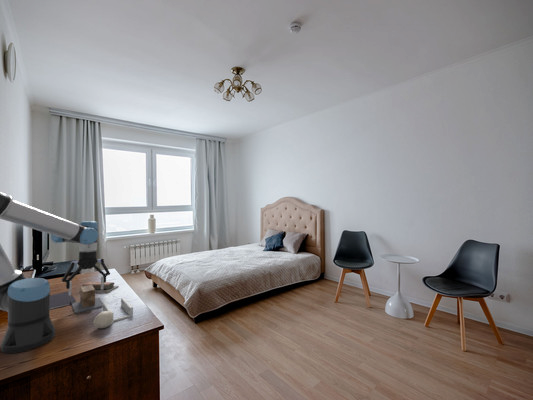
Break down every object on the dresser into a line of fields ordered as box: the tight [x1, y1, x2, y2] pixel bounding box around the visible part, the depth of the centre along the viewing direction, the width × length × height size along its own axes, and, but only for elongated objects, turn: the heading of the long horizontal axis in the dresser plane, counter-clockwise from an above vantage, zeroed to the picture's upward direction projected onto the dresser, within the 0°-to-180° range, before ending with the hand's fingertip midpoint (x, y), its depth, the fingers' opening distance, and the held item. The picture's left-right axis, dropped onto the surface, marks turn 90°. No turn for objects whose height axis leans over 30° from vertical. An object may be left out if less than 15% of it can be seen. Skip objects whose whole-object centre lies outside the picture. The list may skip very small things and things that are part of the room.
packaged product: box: [81, 281, 119, 294], centre depth 151 cm, size 18×5×10 cm
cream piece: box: [92, 310, 114, 329], centre depth 107 cm, size 7×7×7 cm
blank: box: [79, 285, 96, 308], centre depth 130 cm, size 5×10×8 cm, turn 44°
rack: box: [102, 297, 134, 323], centre depth 120 cm, size 9×17×4 cm, turn 44°
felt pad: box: [71, 297, 103, 314], centre depth 128 cm, size 12×14×1 cm
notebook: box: [50, 290, 77, 310], centre depth 134 cm, size 13×2×21 cm
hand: (86, 291), depth 127 cm, fingers open, 13 cm apart
